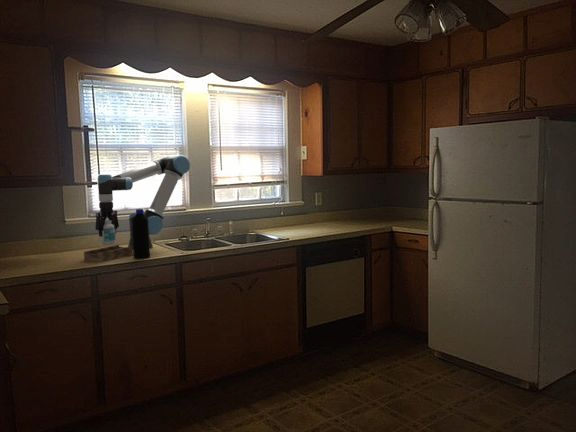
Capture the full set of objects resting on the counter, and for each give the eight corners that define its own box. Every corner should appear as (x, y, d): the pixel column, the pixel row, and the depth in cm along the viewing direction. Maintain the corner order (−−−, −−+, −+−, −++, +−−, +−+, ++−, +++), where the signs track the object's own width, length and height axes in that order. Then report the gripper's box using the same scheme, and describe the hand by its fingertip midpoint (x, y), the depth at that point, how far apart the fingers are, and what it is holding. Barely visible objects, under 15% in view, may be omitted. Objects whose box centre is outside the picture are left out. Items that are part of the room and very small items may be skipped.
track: (117, 253, 300) (117, 244, 300) (133, 254, 294) (132, 246, 293) (84, 260, 279) (83, 251, 279) (100, 262, 273) (99, 253, 272)
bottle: (131, 257, 285) (129, 209, 282) (146, 255, 291) (143, 208, 288) (137, 259, 278) (135, 210, 275) (152, 257, 284) (150, 209, 281)
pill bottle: (98, 244, 283) (97, 221, 282) (107, 242, 290) (106, 219, 289) (109, 245, 281) (107, 221, 279) (118, 243, 288) (116, 220, 286)
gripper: (115, 200, 293) (117, 238, 296) (86, 202, 276) (89, 243, 278) (124, 200, 290) (126, 238, 292) (95, 203, 272) (98, 244, 275)
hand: (108, 240), depth 285 cm, fingers closed on pill bottle, 7 cm apart
